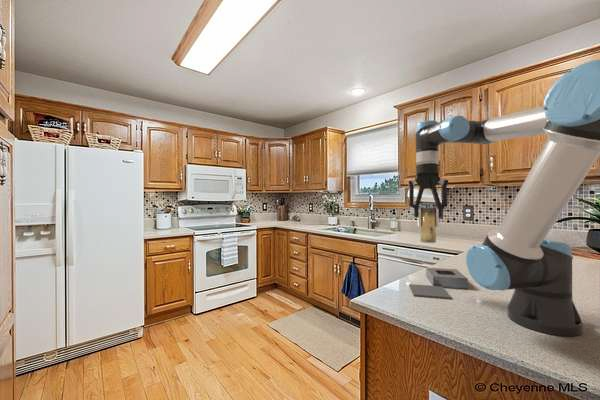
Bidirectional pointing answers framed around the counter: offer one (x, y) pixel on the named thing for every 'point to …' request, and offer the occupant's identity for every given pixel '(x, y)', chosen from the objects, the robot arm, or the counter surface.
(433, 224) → the glass jar
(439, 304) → the counter surface
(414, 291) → the mat
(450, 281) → the block
